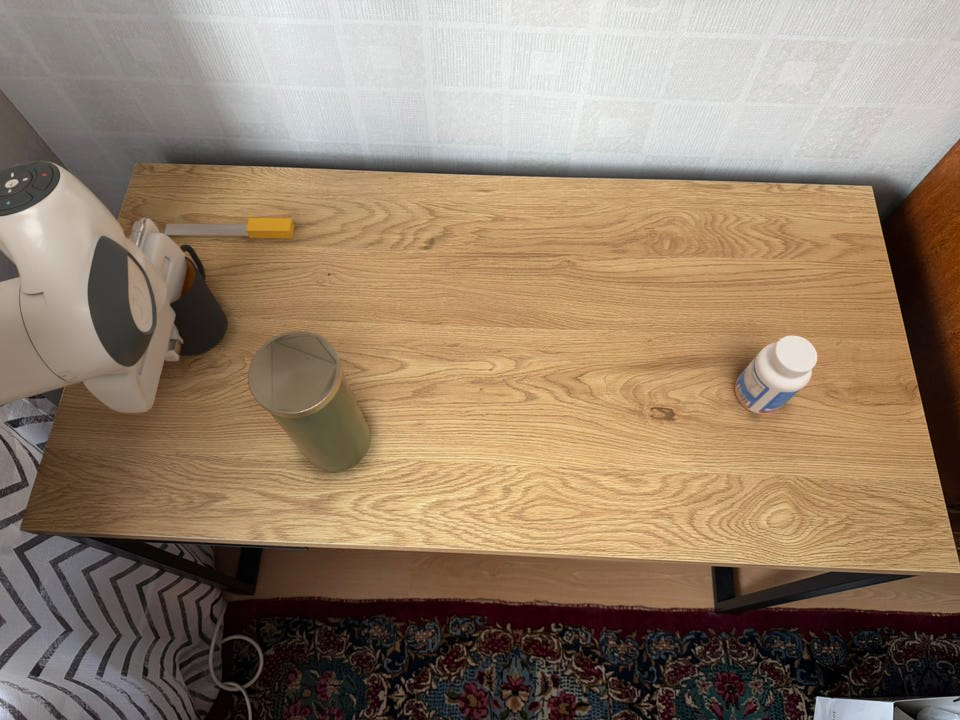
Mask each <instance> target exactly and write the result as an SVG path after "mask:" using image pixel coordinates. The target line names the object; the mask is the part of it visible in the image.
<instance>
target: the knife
mask: <svg viewBox="0 0 960 720" xmlns="http://www.w3.org/2000/svg"><path fill="white" fill-rule="evenodd" d="M295 227H296V225H295V223H294V221H293V218H292V217H248V218H247V223H180V222H179V223H177V222H176V223H173V222H170V223H166V225H165V228H164V232H163V234H165V235H167V236H168V237H169V238H237V239H239V238H242V239H245V238H247V239H282V240H283V239H287V240H288V239H289V240H290V239H291V240H292V239H294V234H295Z"/></svg>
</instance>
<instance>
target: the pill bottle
mask: <svg viewBox="0 0 960 720" xmlns="http://www.w3.org/2000/svg"><path fill="white" fill-rule="evenodd" d="M817 362H818V353H817V350H816V348H815V346H814V345H813V344H812V342H811V341H809V340H808V339H806V338H804V337H803V336H799V335H786V336H783V337H781V338H780V339H779V340H778V341H777V342H772V343H769V344H767V345H766V346H764V347H763V348H762V349H761V350H760V351H759V352H758V353H757V355H755V357H753V359H752V361H750V363H749V364H747V366H746V368H745V369H744V370H743V371H742V372H741V373H740V374H739V375H738V377H737V379H736V381H735V386H734V392H735V396H736V398H737V400H738V401H739V403H740V404H741V406H743V407H744V408H745V409H747V410H748V411H750V412H752V413H754V414H757V415H769V414H772V413H775V412H777V411H778V410H780V409H781V408H782V407H783V406H785V404H787V403H788V402H789V401H790V400H791V399H792V398H793V397H794V396H796V395H797V393H799V392H800V391H802V389H803V388H805V386H807V384H808V383H809V382H810V380H811V378H812V375H813V369H814V367H815V366H816V365H817Z"/></svg>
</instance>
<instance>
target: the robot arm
mask: <svg viewBox="0 0 960 720" xmlns="http://www.w3.org/2000/svg"><path fill="white" fill-rule="evenodd" d="M0 251H1V252H2V253H3V254H4V255H5V256H6V257H7V258H8V259H9V260H10V261H11V262H12V263H13V264H14V265H15V266H16V268H17V272H18V277H17V276H16V277H14V278H10V279H6V280H2V281H0V408H1V407H3V406H5V405H7V404H10V403H13V402H17V401H20V400H24V399H27V398H31V397H34V396H37V395H41V394H45V393H47V392H51V391H54V390H58V389H62V388H65V387H68V386H71V385H75V384H79V383H83V385H84V387H85V388H86V389H87V390H88V391H89V392H90V393H91V395H93V396H94V397H95V398H96V399H97V400H99V401H100V402H101V403H102V404H103V405H105V406H106V407H108V408H109V409H111V410H112V411H115V412H117V413H123V414H124V413H126V414H142V413H146V412H148V411H150V410H151V409H152V408H153V407H154V404H155V400H156V395H157V391H158V388H159V384H160V379H161V375H162V371H163V367H164V363H165V362H179V361H180V356H181V355H180V352H181V348H182V344H183V339H182V338H181V337H180V336H179V335H178V334H179V333H178V330H177V328H176V326H175V324H174V320H175V316H176V314H175V312H174V310H173V309H172V308H171V306H170V303H172V302H175V301H176V300H178V299H180V296H181V292H182V289H183V285H184V281H185V277H186V273H187V269H188V263H187V261H186V259H185V256H186V257H187V255H186V254H185V252H183V251H182V250H181V249H180V246H179V245H178V244H177V243H176V242H175V241H174V240H173V239H172V237H168V236H167V235H165V234H164V232H160V231H159V228H158V227H157V225H156V224H155V223H154V221H153V220H152V219H151V218H149V217H141V218H139V220H135V221H134V223H133V225H132V227H131V234H130V236H129V238H128V237H126V235H125V232H124V229H123V227H122V226H121V224H120V222H119V221H118V220H117V219H116V217H115V216H114V214H112V212H111V211H110V210H109V209H108V207H106V205H105V204H104V203H103V202H102V201H101V200H100V199H99V198H98V197H97V195H95V194H94V193H93V192H92V191H91V190H90V188H89V187H87V186H86V184H84V183H83V182H82V181H81V180H80V179H78V178H77V177H76V176H75V175H74V174H72V173H71V172H70V171H68V170H67V169H65V168H64V167H62V166H60V165H58V164H57V163H55V162H51V161H46V160H31V161H25V162H19V163H17V164H16V163H15V164H12V165H9V166H6V167H2V168H0Z"/></svg>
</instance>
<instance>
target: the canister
mask: <svg viewBox="0 0 960 720" xmlns="http://www.w3.org/2000/svg"><path fill="white" fill-rule="evenodd" d="M249 364H250V365H249V368H248V372H247V374H248V375H247V382H248V383H247V384H248V389H249V390H250V393H251V395H252V396H253V399H255V401H256V402H257V403H258V404H259V405H260V407H261V408H263V409H264V410H265V411H266V412H268V413H269V414H270V415H271V416H272V418H273V419H274V420H275V421H276V422H277V424H278V425H279V426H280V427H281V428H282V430H283V431H284V432H285V433H286V434H287V435H288V438H290V439H291V440H292V441H293V443H294V444H295V445H296V446H297V448H298V449H299V450H300V451H301V452H302V454H303V455H304V457H306V459H307V460H308V461H309V462H310V463H311V464H312V465H313V466H314V467H316V468H317V469H319V470H321V471H324V472H328V473H340V472H344V471H347V470H350V469H352V468H354V467H355V466H357V465H358V464H360V462H361V461H362V460H363V459H364V458H365V456H366V455H367V454H368V451H369V449H370V445H371V436H372V435H371V429H370V426H369V424H368V423H367V421H366V418H365V416H364V413H363V411H362V409H361V408H360V405H359V403H358V400H357V398H356V396H355V394H354V391H353V389H352V387H351V386H350V385H351V384H350V383H349V382H348V381H349V380H348V379H347V376H346V375H345V372H344V370H343V365H342V361H341V359H340V356H339V354H338V352H337V350H336V348H335V347H334V345H333V344H332V343H331V342H330V341H329V340H328V339H326V338H325V337H324V336H322V335H319V334H318V333H316V332H315V333H314V332H311V331H306V330H296V331H295V330H294V331H288V332H284V333H281V334H278V335H276V336H274V337H272V338H271V339H270V340H268V341H266V342H265V343H264V344H263V345H261V347H259V349H258V350H257V351H256V353H255V354H254V356H253V358H252V359H251V362H250V363H249Z"/></svg>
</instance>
